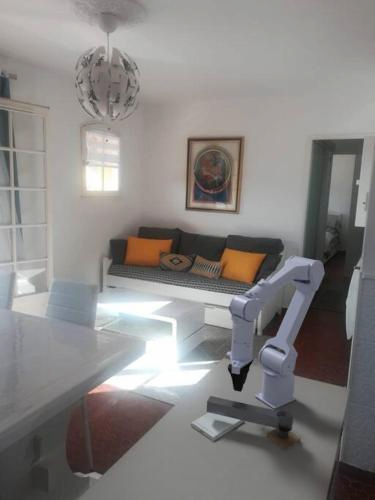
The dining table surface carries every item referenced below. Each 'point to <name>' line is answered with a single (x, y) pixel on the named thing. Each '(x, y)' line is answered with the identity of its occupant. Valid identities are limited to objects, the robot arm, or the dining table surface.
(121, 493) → the dining table surface
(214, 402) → the swing bar
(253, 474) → the dining table surface
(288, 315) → the robot arm
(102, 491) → the dining table surface
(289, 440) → the post mount
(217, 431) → the hard drive
